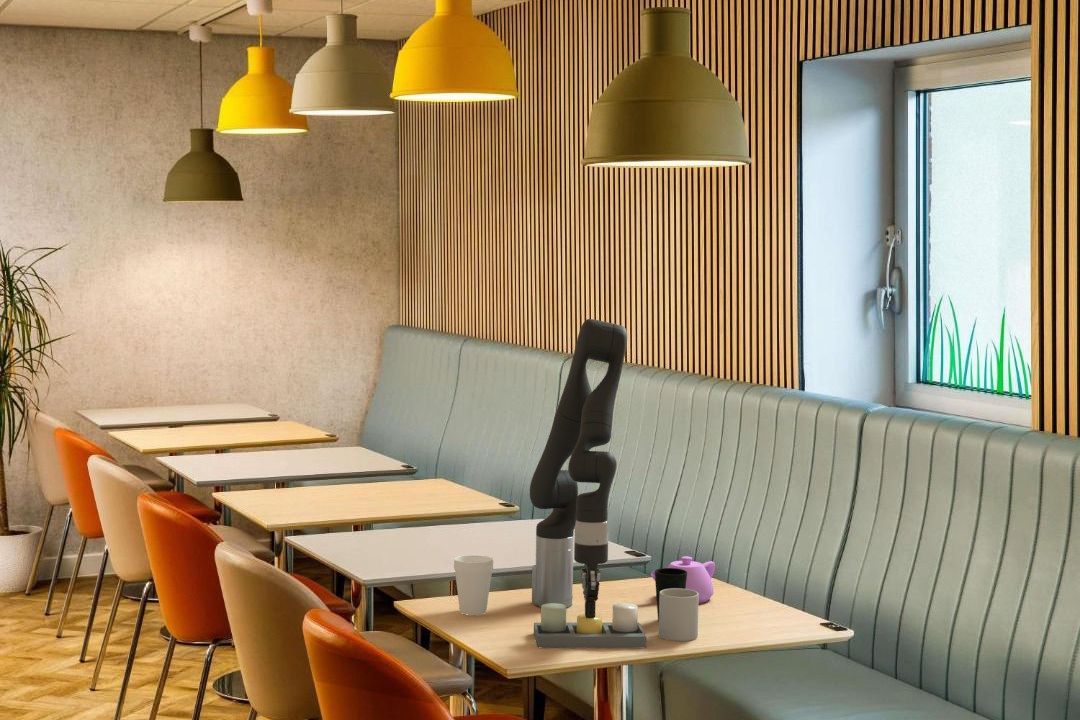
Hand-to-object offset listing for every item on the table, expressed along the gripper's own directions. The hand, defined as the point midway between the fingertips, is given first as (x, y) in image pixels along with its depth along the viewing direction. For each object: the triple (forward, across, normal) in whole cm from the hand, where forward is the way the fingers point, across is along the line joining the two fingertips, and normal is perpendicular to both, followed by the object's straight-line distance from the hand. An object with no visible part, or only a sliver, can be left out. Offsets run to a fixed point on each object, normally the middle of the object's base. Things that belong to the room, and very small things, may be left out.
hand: (589, 617), depth 305 cm
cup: (+6, +16, -21) cm, 27 cm away
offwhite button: (+3, 0, -8) cm, 8 cm away
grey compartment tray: (+5, 0, 0) cm, 5 cm away
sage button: (+3, 0, +8) cm, 9 cm away
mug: (+6, +4, -21) cm, 23 cm away
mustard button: (+5, 0, 0) cm, 5 cm away
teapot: (+6, +39, -28) cm, 48 cm away
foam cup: (+5, +25, +26) cm, 36 cm away
